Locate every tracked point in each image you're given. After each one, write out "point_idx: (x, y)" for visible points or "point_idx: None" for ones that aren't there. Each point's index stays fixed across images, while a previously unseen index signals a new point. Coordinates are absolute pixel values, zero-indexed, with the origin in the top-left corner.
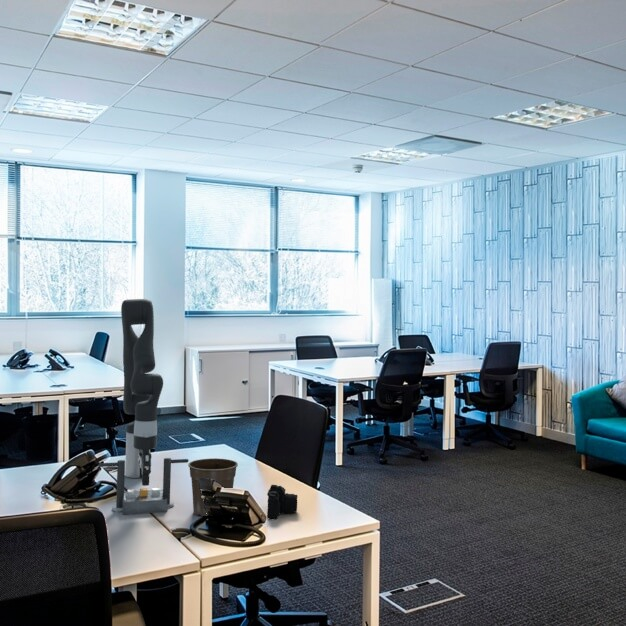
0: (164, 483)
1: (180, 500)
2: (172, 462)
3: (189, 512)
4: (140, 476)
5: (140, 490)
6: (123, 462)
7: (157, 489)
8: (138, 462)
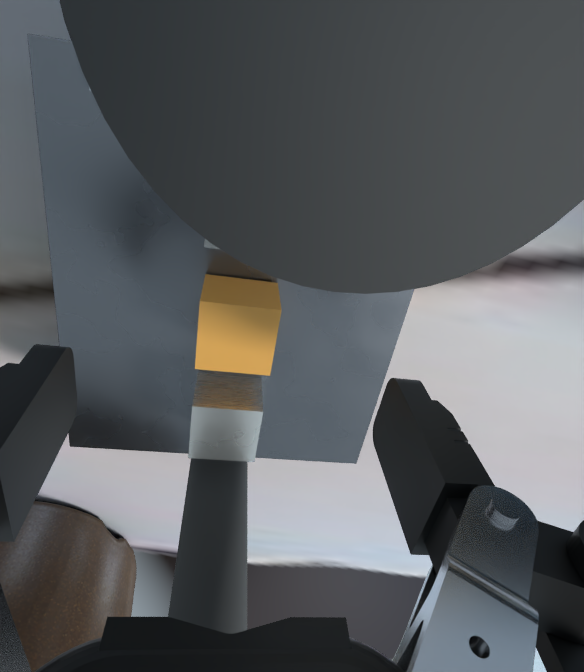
0: (192, 529)
1: (304, 485)
2: None
3: (53, 482)
4: (398, 400)
5: (205, 302)
6: (125, 115)
7: (202, 442)
8: (443, 575)
